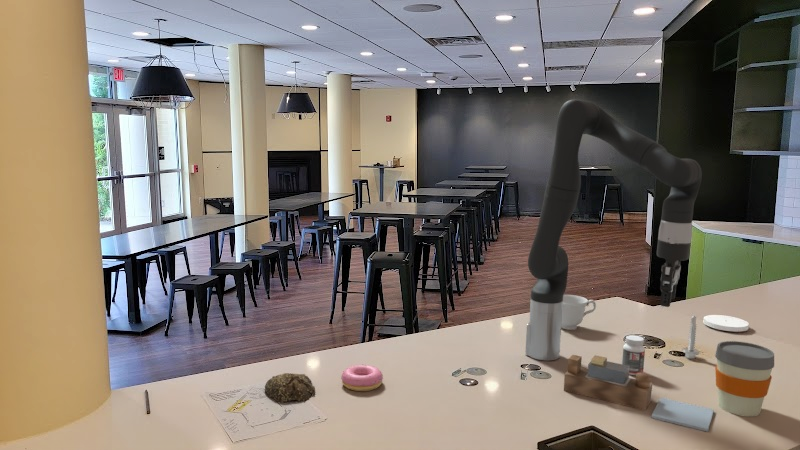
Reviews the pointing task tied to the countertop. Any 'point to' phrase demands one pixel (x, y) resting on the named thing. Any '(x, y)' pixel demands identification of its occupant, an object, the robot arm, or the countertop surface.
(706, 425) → the rubber mat
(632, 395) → the plane body
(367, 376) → the doughnut
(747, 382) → the reusable coffee cup
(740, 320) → the plastic lid
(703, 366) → the countertop surface
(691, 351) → the screw
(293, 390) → the mossy brown rock
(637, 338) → the pill bottle
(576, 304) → the teacup
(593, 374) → the lever cap
